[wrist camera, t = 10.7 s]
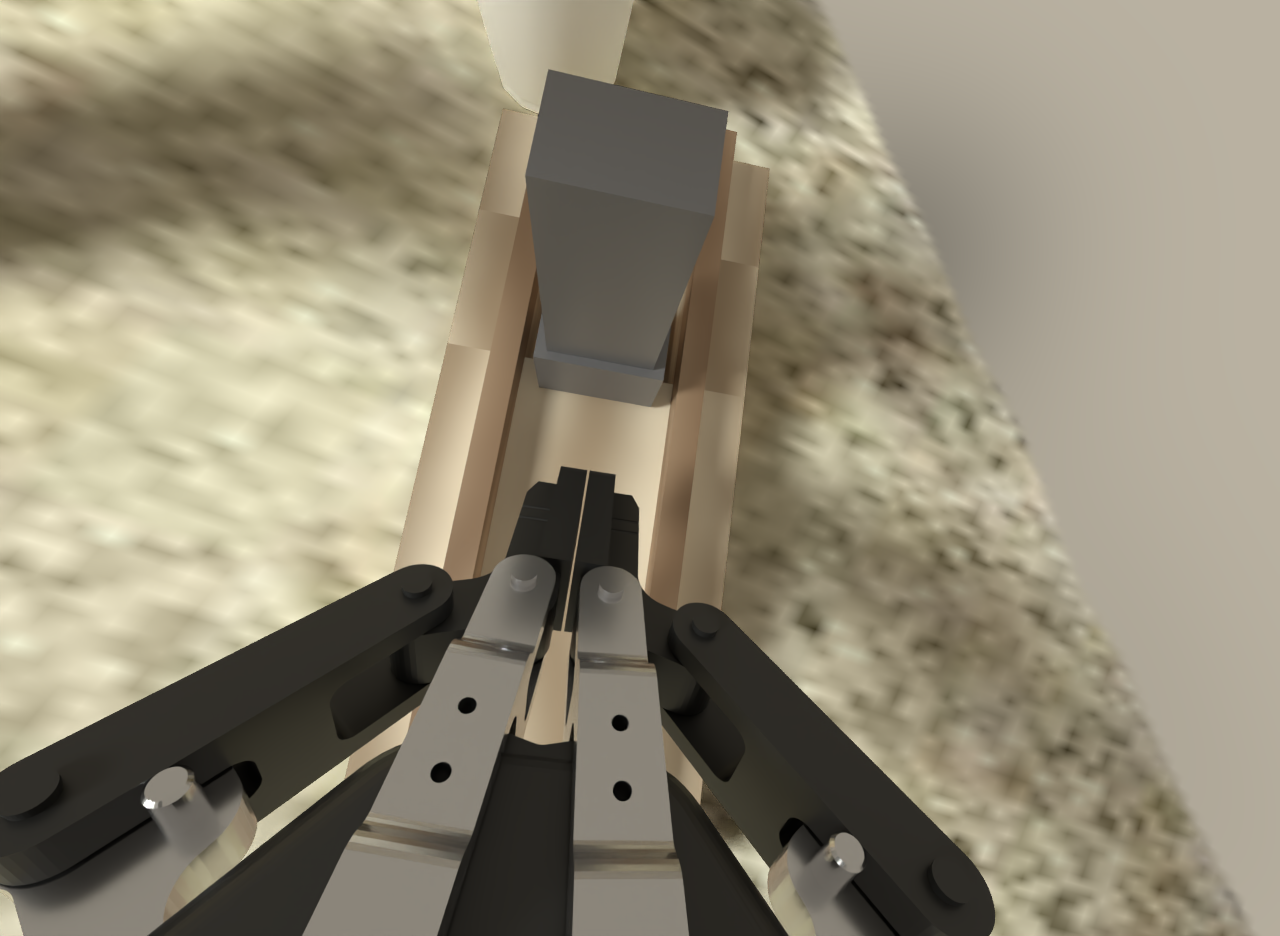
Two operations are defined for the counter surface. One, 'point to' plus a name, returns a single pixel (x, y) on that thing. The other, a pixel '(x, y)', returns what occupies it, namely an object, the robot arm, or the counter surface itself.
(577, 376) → the plunger
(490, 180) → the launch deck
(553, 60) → the foam cup
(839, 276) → the counter surface
